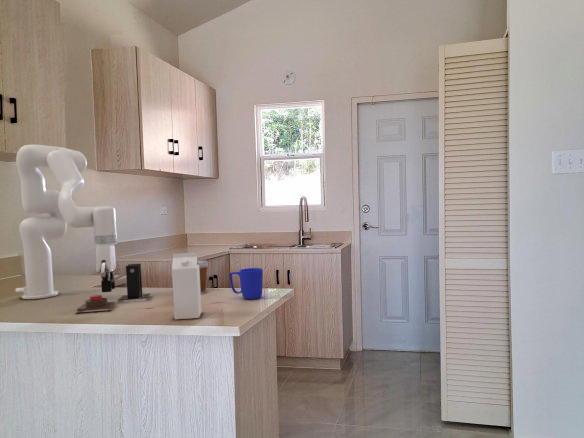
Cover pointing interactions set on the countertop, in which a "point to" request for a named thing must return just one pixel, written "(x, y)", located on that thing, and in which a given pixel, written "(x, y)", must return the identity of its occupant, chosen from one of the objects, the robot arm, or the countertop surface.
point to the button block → (95, 306)
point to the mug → (249, 282)
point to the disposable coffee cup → (203, 274)
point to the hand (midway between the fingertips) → (108, 289)
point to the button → (95, 297)
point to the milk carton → (186, 286)
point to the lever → (118, 277)
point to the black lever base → (134, 283)
